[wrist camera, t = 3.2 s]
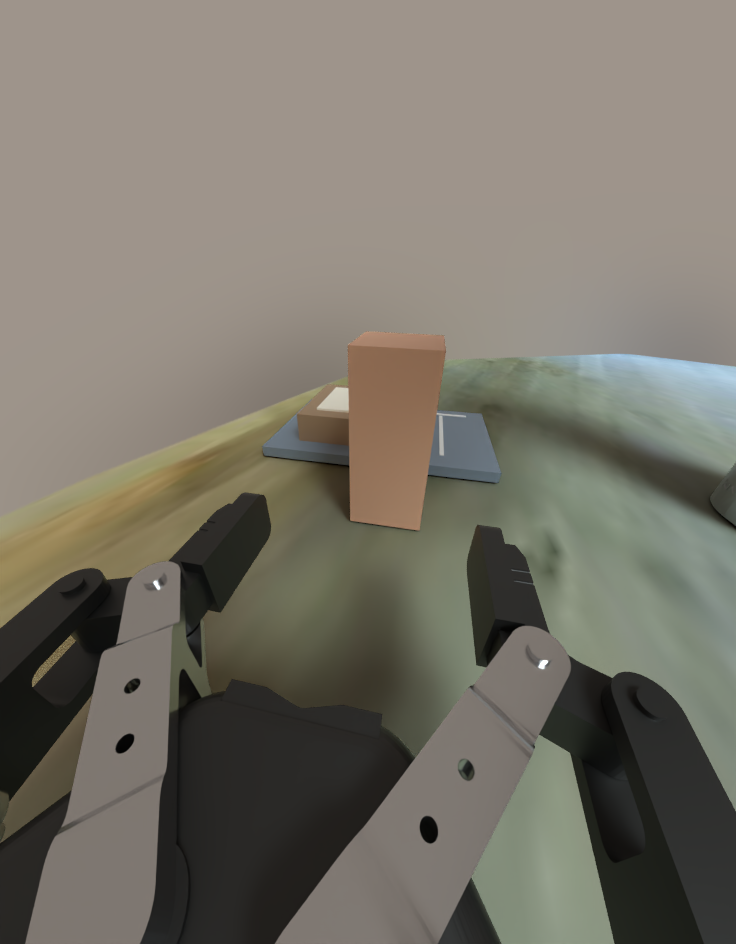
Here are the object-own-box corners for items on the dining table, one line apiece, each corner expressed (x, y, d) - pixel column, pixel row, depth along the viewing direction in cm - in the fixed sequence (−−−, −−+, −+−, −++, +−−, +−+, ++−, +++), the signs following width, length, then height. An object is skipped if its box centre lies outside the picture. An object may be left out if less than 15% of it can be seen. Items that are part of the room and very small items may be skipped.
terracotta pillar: (422, 490, 26) (444, 335, 19) (419, 530, 22) (445, 350, 15) (363, 482, 27) (366, 331, 20) (350, 520, 22) (347, 345, 16)
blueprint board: (479, 421, 39) (487, 389, 36) (498, 482, 27) (510, 441, 25) (312, 406, 42) (309, 376, 40) (263, 455, 30) (256, 416, 28)
